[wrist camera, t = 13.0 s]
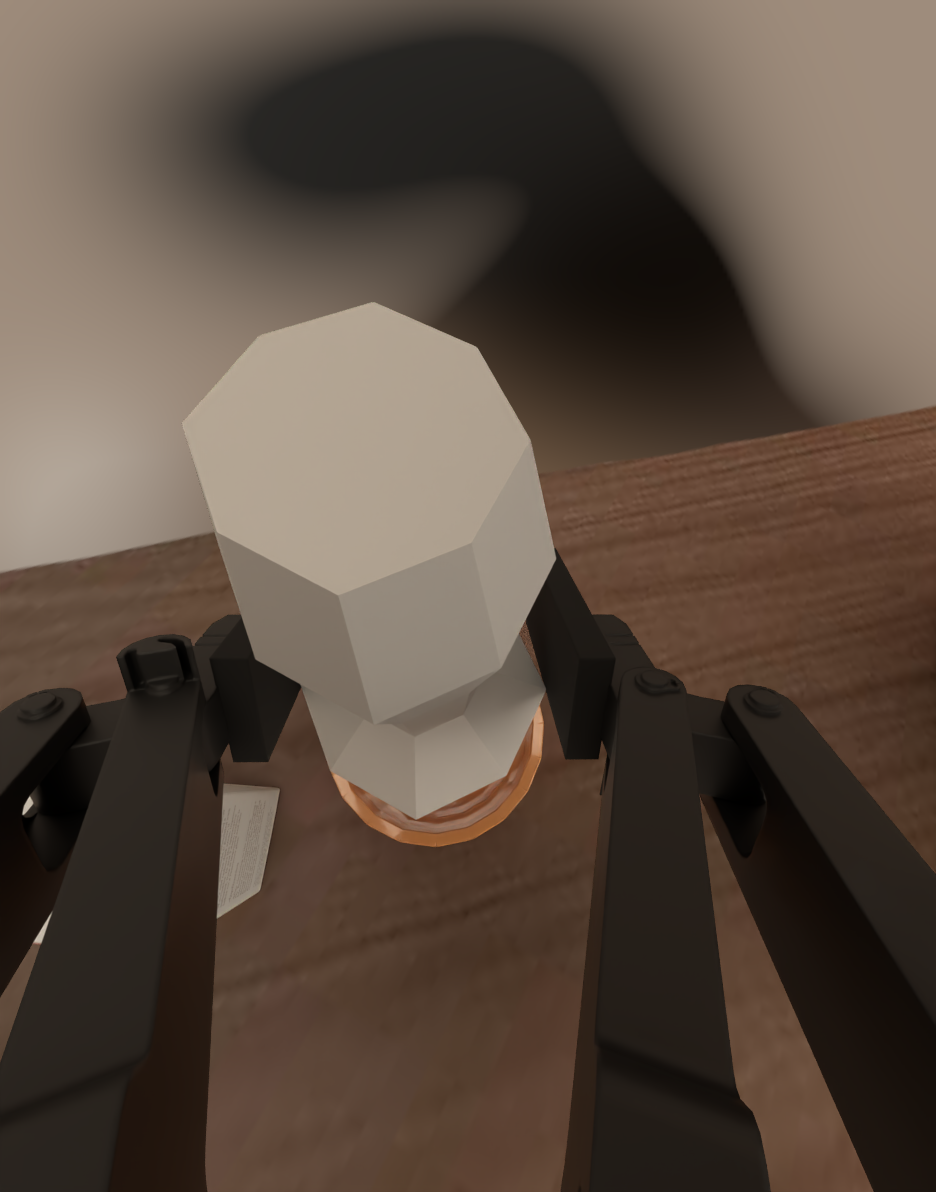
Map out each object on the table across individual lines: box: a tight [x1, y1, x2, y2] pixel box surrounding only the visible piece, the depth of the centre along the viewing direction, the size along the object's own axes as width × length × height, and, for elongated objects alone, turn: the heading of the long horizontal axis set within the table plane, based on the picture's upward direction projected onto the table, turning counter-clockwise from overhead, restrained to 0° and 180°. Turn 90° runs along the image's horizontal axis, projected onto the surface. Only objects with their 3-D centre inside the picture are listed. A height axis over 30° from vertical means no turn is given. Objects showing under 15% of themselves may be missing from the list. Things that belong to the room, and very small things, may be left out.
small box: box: [22, 783, 280, 945], centre depth 24 cm, size 8×6×10 cm
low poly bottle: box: [182, 302, 556, 820], centre depth 14 cm, size 6×6×22 cm
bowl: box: [328, 704, 544, 847], centre depth 29 cm, size 11×11×6 cm
